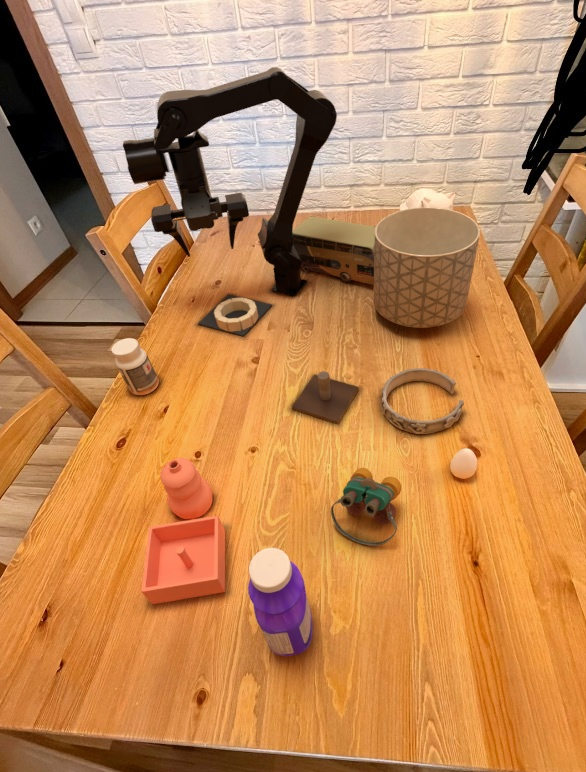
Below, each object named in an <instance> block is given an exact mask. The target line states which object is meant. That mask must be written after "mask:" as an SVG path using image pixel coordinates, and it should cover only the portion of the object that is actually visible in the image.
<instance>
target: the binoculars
mask: <svg viewBox="0 0 586 772" xmlns="http://www.w3.org/2000/svg"><path fill="white" fill-rule="evenodd" d="M401 492H402V483H401V482H400V480H399V479H398V478H397V477H395V476H386V477H385V478H383V480H382V481H381V482H380V483H379V482H376V481H375V480H374V477H373V474H372V472H371V470H369V469H368V468H366V467H359V468H357V469H356V470H355V471H354V472H353V473H352V475H351V476H350V479H349V481H347V483H346V485H345V486H344V488H343V489H342V496H341V497H340V498H338V500H336V501H334V503H333V504H332V505H331V507H330V516H331V519H332V521H333V524H334V526H335V527H336V529H337V530H338V531H339V532H340V534H342V535H343V536H345V537H346V538H348V539H349V540H352V541H353V542H355V543H358V544H361V545H365V546H375V547H376V546H381V545H384V544H386V543H388V542H389V541H390V540H391V539H392V538H394V536H395V534H396V533H397V530H398V525H397V522H396V521H395V519H394V518H395V517H396V515H397V509H396V507H395V505H394V504H393V503H392V501H394V500H396V499H397V497H398V496H399V495H400V494H401ZM337 504H340V505H341V506H343V507H344V508H346V511H347V512H348V513H350V514H351V515H355V516H357V515H359V516H360V515H361V514H363V512H365V513H366V514H367V515H368V516H370V517H373V520H374V521H375V522H376V523H377V524H380V525H383V526H385V525H388V524H392V525H393V528H394V532H393V533H392V534H391V535H390V536H389V537H388V538H386V539H384V540H382V541H366V540H362V539H359V538H357V537H355V536H353V535H351V534H349V532H347V531H346V530H344V529H343V528H342V527H341V526H340V524H339V523H338V521H337V518H336V515H335V512H334V507H335V505H337Z"/></svg>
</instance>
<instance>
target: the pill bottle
mask: <svg viewBox="0 0 586 772" xmlns="http://www.w3.org/2000/svg"><path fill="white" fill-rule="evenodd" d="M111 353H112V354H113V357H114V358H115V366H116V368H117V370H118V372H119V373H120V375H121V377H122V379H123V381H124V383H125V384H126V386H127V388H128V390H129V391H130V393H132V394H133V395H135V396H146V395H148V394H151V393H152V392H154V391H155V390H156V389H157V388H158V386H159V382H160V380H159V377H158V375H157V373H156V371H155V369H154V367H153V363H152V362H151V360H150V358H149V356H148V354H147V352H146V351H145V350H144V348H141V346H140V343H139V341H138V340H137V339H135V338H132V337H127V338H123V339H120V340H117V341H116V342H115V343H114V344H113V345H112V347H111Z"/></svg>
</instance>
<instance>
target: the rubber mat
mask: <svg viewBox="0 0 586 772" xmlns="http://www.w3.org/2000/svg"><path fill="white" fill-rule="evenodd" d="M232 298H242V296H237V295H233V294H227V295H226V296H224V298H222V299H221V300H220V301H219V302H218V303H217V304H216V305H215V306H214V307H213V308H211V310H210V311H209V312H208V313H207V314H206V315H205V316H204V317H203V318H201V320H200V321H198V323H197V325H198V326H201V327H205V328H209V329H213V330H217V331H220V332H223V333H228V334H232V335H235V336H239V337H246V335H248V333H249V332H251V330H252V329H253V328H254V326H255V325H256V324H257V323H259V321H260V320H261V319H262V318H264V315H266V314H267V312H269V310H270V309H271V308H272V307H273V304H272V303H267V302H264V301H260V300H255V299H251V298H249V299H250V300H252V301H253V302H254V303H255V305H256V307H257V311H258V316H259V317H258V319H257V321H256V322H255V324H253V326H251V327H249V328H247V329H245V330H242V329H241V331H234V332H230V331H225V330H223V329H221V328H219V327H218V324H217V321H216V318H215V315H214V310H215V309H216V307H217V306H218V305H219V304H220V303H222V302H224V301H226V300H228V299H231V300H232ZM247 313H248V312H247V311H244V310H238V311H233V312H231V313H229V314H226V316H225V317H226V318H228V319H232V318H240V317H242V316H244V315H246V314H247Z"/></svg>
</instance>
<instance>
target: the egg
mask: <svg viewBox="0 0 586 772" xmlns="http://www.w3.org/2000/svg"><path fill="white" fill-rule="evenodd" d="M449 468H450V472H451V474H452V475H453V476H455V478H459V479H464V480H465V479H470V478H472V476H474V474H475V473H476V472H477V468H478V459H477V456H476V454H475V453H474V451H473V450H472V449H471V448H468V447H465V448H461V449H459V450H458V451H457V452H456V453H455V454H454V455H453V456H452V458H451V461H450V466H449Z"/></svg>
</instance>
